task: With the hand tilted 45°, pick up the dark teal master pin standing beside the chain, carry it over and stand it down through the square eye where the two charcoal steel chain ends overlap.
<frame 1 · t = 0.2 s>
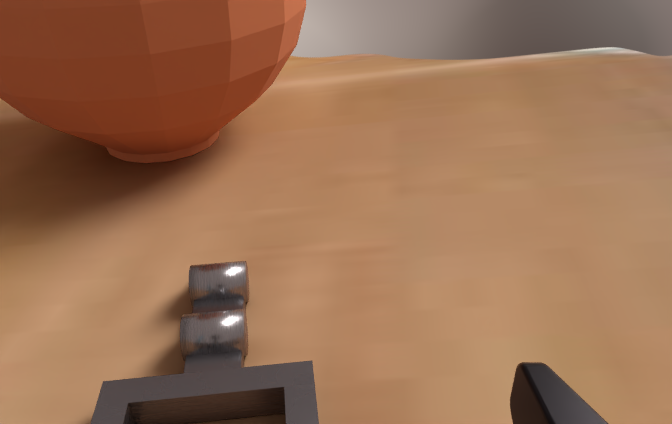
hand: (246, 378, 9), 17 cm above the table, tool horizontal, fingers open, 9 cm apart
flowerpot: (164, 139, 57), on the table
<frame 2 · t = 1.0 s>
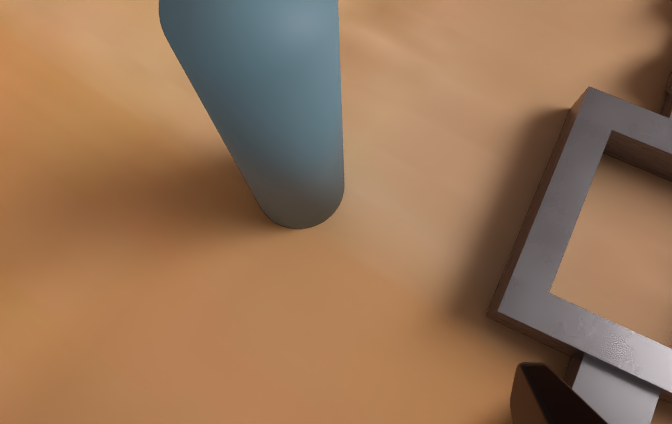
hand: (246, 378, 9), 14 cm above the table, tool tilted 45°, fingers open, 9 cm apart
master pin: (299, 185, 25), on the table
chain ends: (647, 257, 24), on the table
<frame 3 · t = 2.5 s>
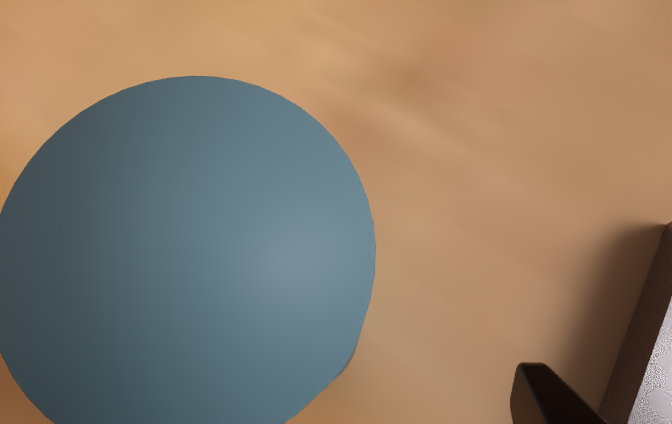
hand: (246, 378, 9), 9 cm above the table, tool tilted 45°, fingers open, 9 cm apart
master pin: (297, 328, 18), on the table
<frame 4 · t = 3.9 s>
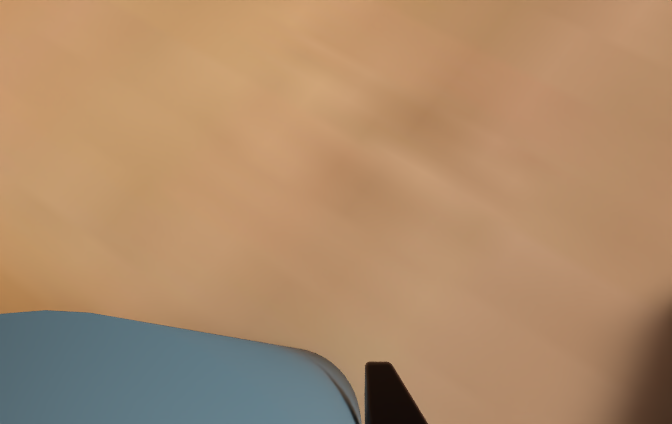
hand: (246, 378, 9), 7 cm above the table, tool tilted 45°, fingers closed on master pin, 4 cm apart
master pin: (287, 422, 15), on the table, touching gripper
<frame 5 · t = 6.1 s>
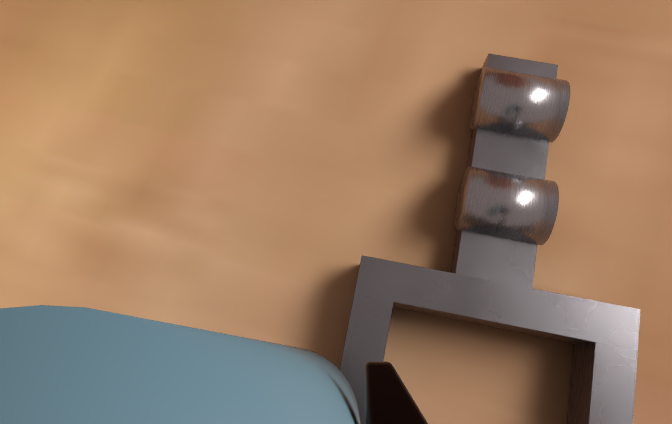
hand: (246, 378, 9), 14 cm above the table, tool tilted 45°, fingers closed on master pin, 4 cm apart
master pin: (286, 421, 15), point 7 cm above the table, touching gripper
chain ends: (468, 420, 22), on the table
when the fingers open (8 cm above the table, at t = 8.3 s): master pin drops 1 cm, resting in chain ends.
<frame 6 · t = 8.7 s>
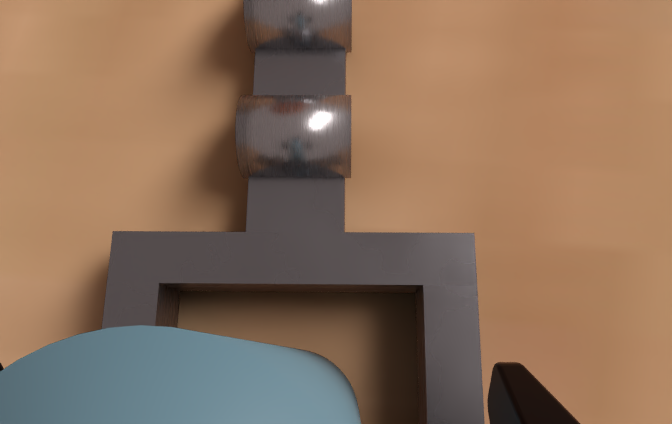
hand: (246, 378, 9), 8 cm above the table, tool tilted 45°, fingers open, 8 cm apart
master pin: (292, 417, 17), resting in chain ends
chain ends: (293, 417, 17), on the table
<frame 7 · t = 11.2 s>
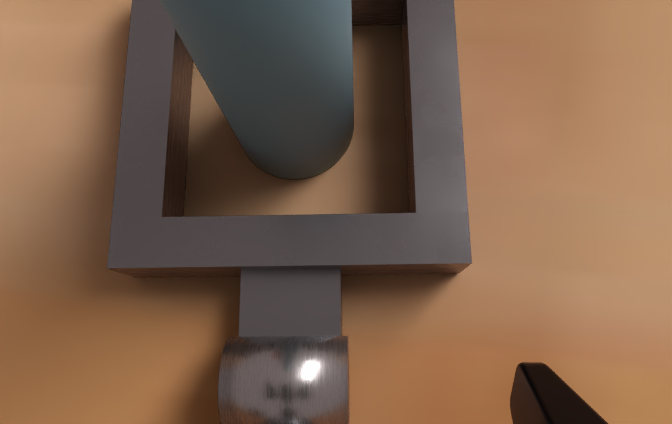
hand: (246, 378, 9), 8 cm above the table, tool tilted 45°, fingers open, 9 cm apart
master pin: (296, 124, 19), resting in chain ends
chain ends: (296, 123, 19), on the table
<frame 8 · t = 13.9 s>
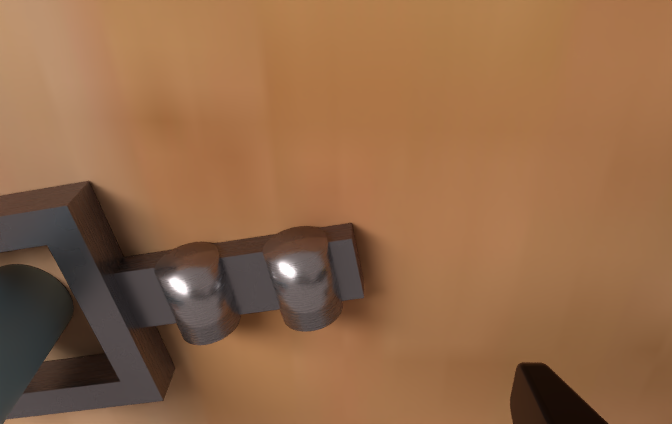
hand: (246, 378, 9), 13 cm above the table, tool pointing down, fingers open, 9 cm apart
master pin: (28, 300, 25), resting in chain ends
chain ends: (28, 299, 25), on the table
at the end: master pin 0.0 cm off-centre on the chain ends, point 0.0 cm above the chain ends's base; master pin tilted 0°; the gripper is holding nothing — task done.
